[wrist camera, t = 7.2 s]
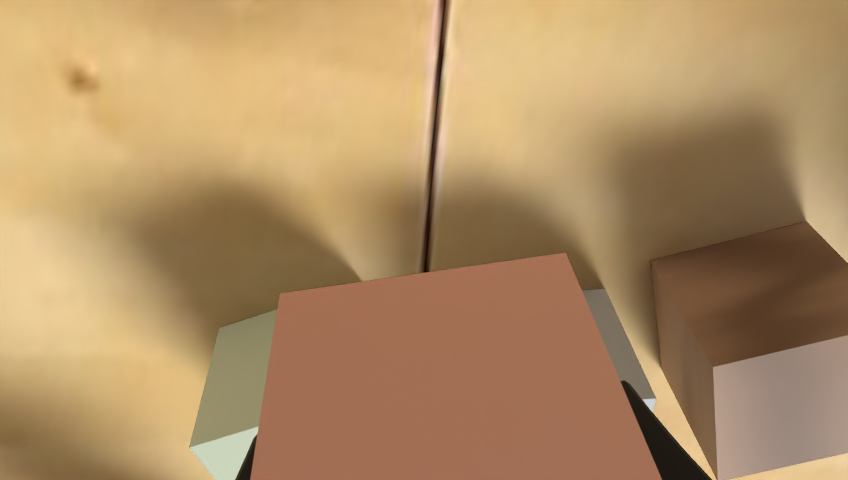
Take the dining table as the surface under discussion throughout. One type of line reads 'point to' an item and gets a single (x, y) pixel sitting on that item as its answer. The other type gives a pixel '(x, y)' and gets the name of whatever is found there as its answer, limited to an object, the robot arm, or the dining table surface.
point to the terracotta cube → (447, 381)
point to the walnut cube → (757, 348)
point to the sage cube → (233, 395)
